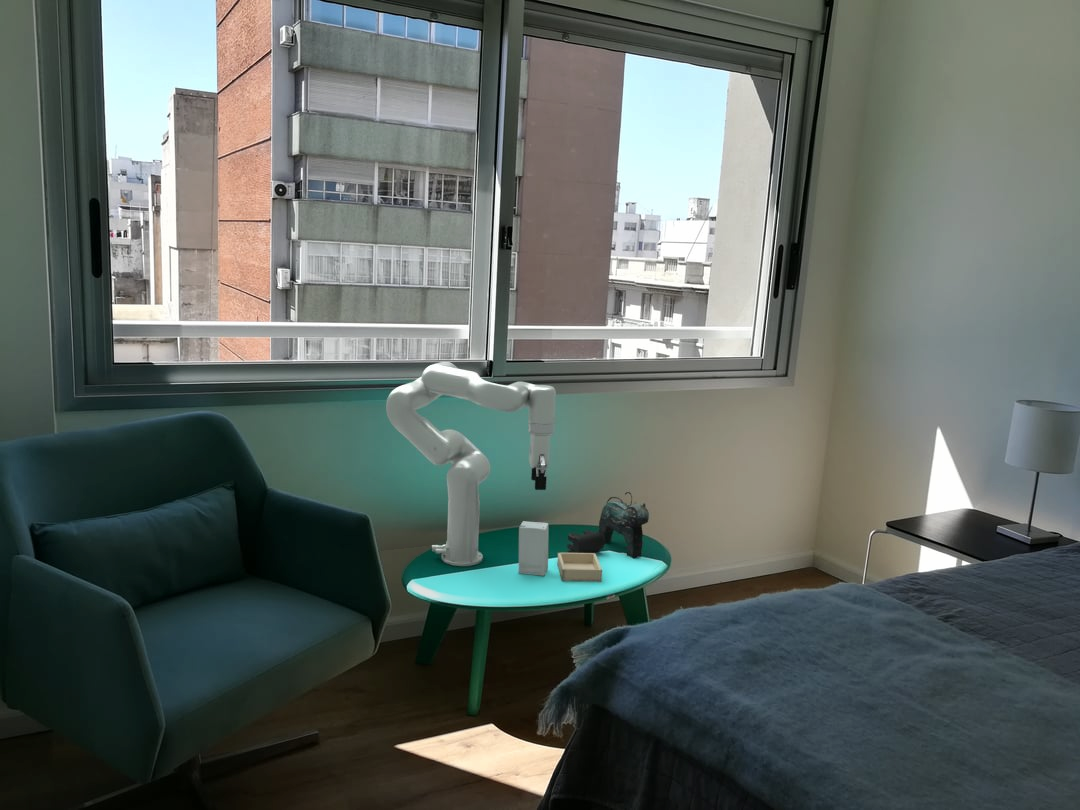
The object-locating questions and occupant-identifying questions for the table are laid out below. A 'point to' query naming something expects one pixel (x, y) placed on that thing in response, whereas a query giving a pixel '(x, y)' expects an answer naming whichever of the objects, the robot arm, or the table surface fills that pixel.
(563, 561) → the holder
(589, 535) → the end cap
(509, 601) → the table surface
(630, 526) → the ceramic cat
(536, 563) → the skincare box
